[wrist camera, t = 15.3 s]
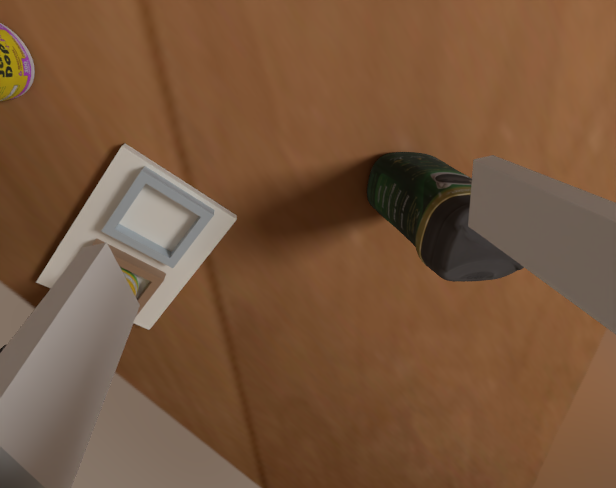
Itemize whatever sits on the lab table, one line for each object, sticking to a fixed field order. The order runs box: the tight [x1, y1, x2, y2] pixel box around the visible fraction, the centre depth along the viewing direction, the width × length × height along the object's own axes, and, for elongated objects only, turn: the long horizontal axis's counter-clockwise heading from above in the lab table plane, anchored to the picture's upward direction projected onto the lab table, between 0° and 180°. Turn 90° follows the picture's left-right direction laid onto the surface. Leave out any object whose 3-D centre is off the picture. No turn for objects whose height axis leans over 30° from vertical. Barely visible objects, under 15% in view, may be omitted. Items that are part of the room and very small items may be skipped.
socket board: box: [36, 144, 237, 330], centre depth 41 cm, size 14×20×3 cm
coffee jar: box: [367, 152, 524, 281], centre depth 36 cm, size 10×8×19 cm
